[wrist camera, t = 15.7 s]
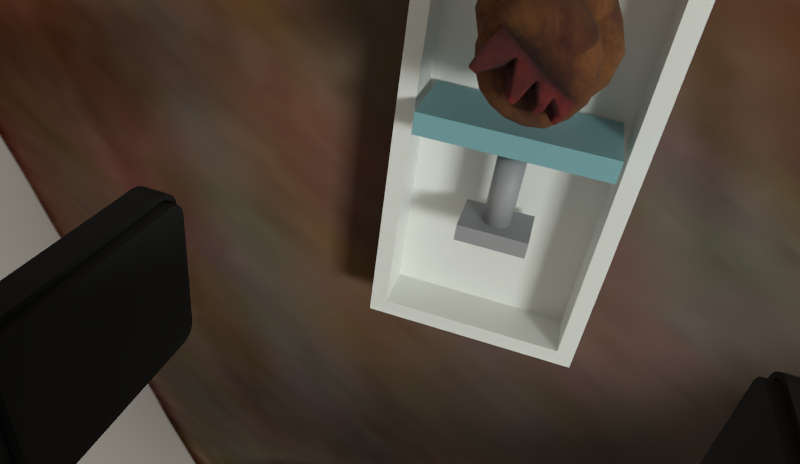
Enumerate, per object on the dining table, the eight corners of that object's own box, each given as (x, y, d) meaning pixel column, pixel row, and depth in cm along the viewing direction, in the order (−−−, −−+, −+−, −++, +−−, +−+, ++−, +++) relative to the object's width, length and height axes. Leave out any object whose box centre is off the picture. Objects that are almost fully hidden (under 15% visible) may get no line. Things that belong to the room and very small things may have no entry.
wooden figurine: (477, -38, 31) (383, 43, 18) (595, -94, 28) (575, -43, 16) (526, 87, 33) (471, 232, 21) (638, 46, 30) (650, 185, 18)
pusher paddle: (623, 122, 32) (624, 161, 28) (582, 238, 36) (577, 286, 32) (438, 80, 34) (414, 111, 30) (418, 195, 38) (395, 236, 34)
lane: (741, -115, 27) (758, -109, 24) (573, 326, 41) (569, 367, 38) (451, -161, 29) (430, -161, 26) (388, 273, 44) (370, 308, 40)
